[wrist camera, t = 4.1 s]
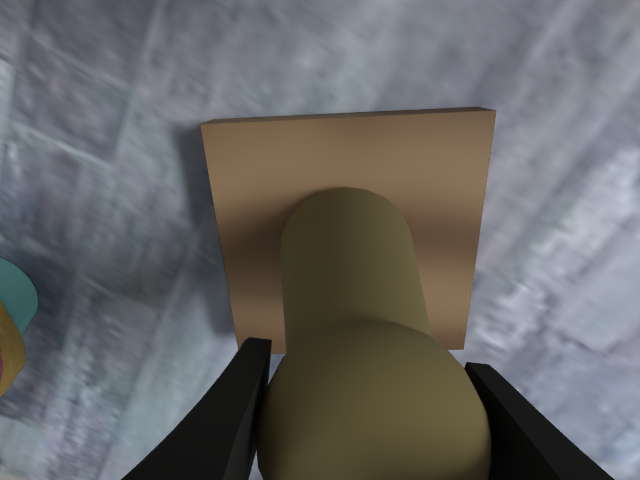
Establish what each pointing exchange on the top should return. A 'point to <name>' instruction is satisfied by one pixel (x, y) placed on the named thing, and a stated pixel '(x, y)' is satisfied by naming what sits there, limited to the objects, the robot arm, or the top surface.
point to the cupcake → (14, 320)
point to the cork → (363, 358)
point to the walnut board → (354, 172)
